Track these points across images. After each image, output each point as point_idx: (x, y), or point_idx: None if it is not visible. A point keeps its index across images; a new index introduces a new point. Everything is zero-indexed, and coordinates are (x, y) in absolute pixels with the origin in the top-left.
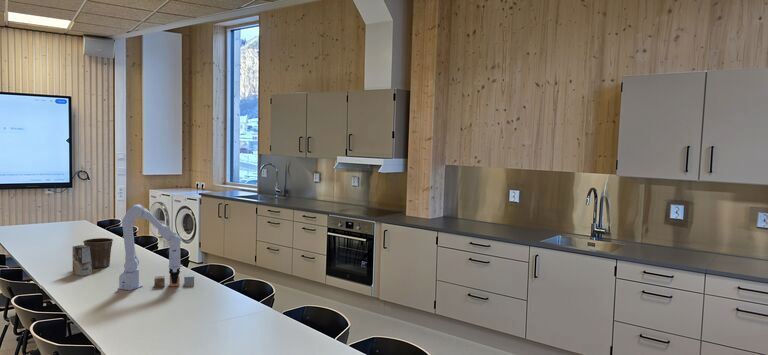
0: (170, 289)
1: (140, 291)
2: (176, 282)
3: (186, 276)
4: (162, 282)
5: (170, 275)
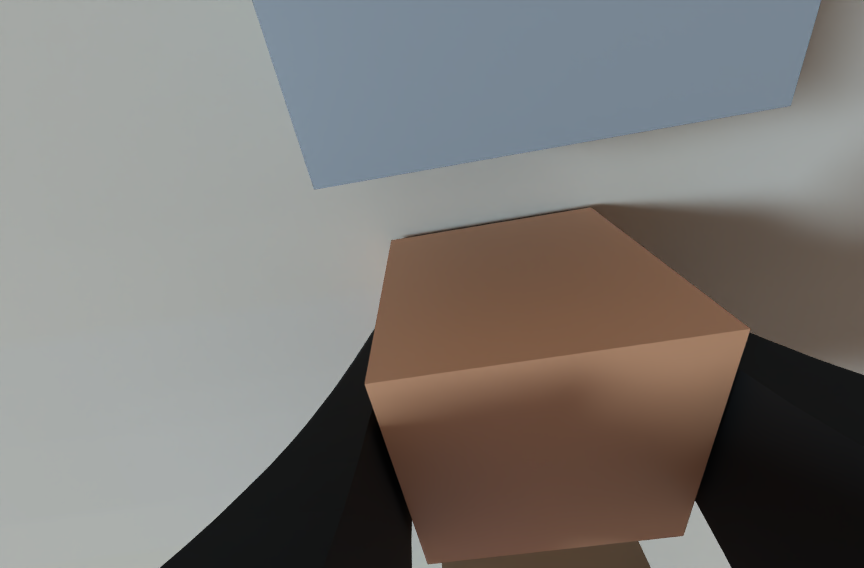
0: (761, 315)
1: (689, 552)
2: None
3: (691, 3)
4: None
5: (492, 545)
